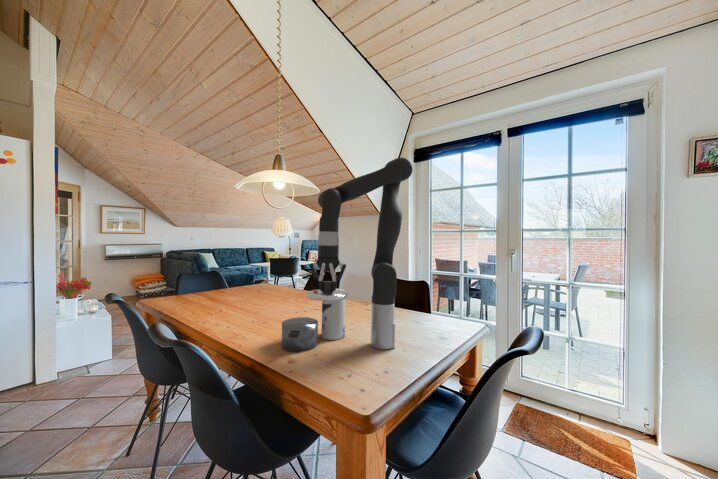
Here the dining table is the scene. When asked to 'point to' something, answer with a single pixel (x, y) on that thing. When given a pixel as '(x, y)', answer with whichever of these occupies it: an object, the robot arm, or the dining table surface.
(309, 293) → the lid
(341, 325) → the container
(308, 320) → the dark grey rounded piece
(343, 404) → the dining table surface
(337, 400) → the dining table surface
